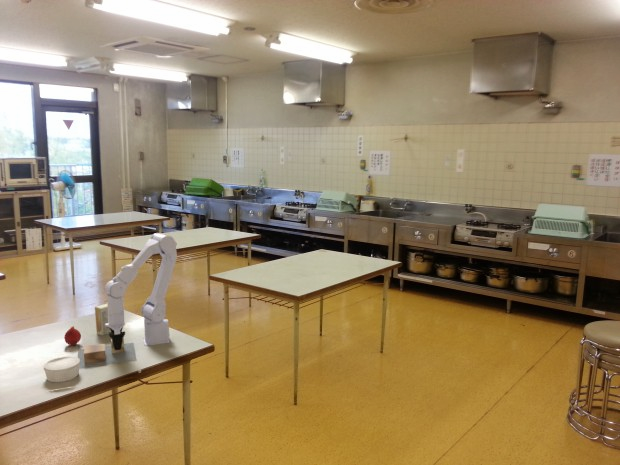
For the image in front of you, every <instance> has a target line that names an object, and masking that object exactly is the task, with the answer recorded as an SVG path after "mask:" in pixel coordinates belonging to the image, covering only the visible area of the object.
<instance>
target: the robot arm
mask: <svg viewBox="0 0 620 465" xmlns="http://www.w3.org/2000/svg"><path fill="white" fill-rule="evenodd" d="M177 244H178V243H177V242H176V240H175V239H174V238H173V237H172V236H171V235H166V234H163V233H161V232H156V233H153V234H152V235H151V236H150V238H148V240H147V241H146V242H145V245H144V247H142V249H141V250H140V251H139V253H138V254H137V255H136V256H135V257H134V259H133V260H132V261H131V263H130V264H125V265H124V266H121V267H120V271H119V272H118V273H117V274H116V275H115V276H114V277H112V279H110V280H109V281H107V283H106V284H105V287H104V288H103V290H104V293H105V294H106V299H107V302H106V303H107V306H108V323H106V324H105V327H109V328H110V330H111V332H109V334H108V336H109V337H110V340H111V339H112V341H113V345H114V349H115V350H121V347H122V340H123V337H125V335H126V331H123V328H124V326H125V325H126V322H125V307H124V305H125V304H124V295H126V293H127V287H129V285H130V284H131V283H132V281H134V280H135V278H136V277H137V276H138V274H139V273H138V272H139V271H138V270H139V269H140V268H141V267H142V266H143V265H144V264H145V263H146V262H147V261H148V259H150V258H151V256H153V255H157V254H159V255H160V257H161V258H162V259H161V262H160V265H159V269H158V271H157V275H156V279H155V281H154V285H153V288H152V291H151V295H149V296H148V297H147V298H146V300H145V303H144V304H143V305H142V306H141V308H140V312H141V315H142V316H143V317H144V319H143V320H144V324H143V325H144V338H143V343H144V346H145V347H148V346H156V345H162V344H169V343H170V326H169V325H170V323H169V319H168V318H167V319H166V313H167V312H166V307H167V304H166V301H165V300H166V299H165V298H166V295H167V292H168V288H169V285H170V282H171V280H172V275H173V272H174V268H175V266H176V262H177V260H178V251H177Z"/></svg>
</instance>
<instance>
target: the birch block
mask: <svg viewBox="0 0 620 465" xmlns="http://www.w3.org/2000/svg"><path fill="white" fill-rule="evenodd" d="M124 337H125V336H124ZM124 337H123V340H122V347H121V350H115V349H114V345H113V341H112V339H111V338H110V346H111V350H112V353H120V352H124V344H125V338H124Z"/></svg>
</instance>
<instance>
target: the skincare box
mask: <svg viewBox="0 0 620 465" xmlns="http://www.w3.org/2000/svg"><path fill="white" fill-rule="evenodd" d="M94 315H95V326H96V327H95V328H96V334H97V335H98V336H105V335H109V332H111V330H110V328H109V327H105V324H106V323H108V306H107V302H106V303H103V304H100V305H95V306H94Z"/></svg>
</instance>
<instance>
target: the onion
mask: <svg viewBox="0 0 620 465" xmlns="http://www.w3.org/2000/svg"><path fill="white" fill-rule="evenodd" d="M81 339H82V335H81V332H80V330H78V329H77V328H75V326H73V325H72V326H71V327H70V328H69V329H68V330H67V331H66V332H65V334H64V342H65V343H66V344H67V345H69V346H71V347H74V346H76V345H77V344H78V343H79V342H80V341H81Z"/></svg>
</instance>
